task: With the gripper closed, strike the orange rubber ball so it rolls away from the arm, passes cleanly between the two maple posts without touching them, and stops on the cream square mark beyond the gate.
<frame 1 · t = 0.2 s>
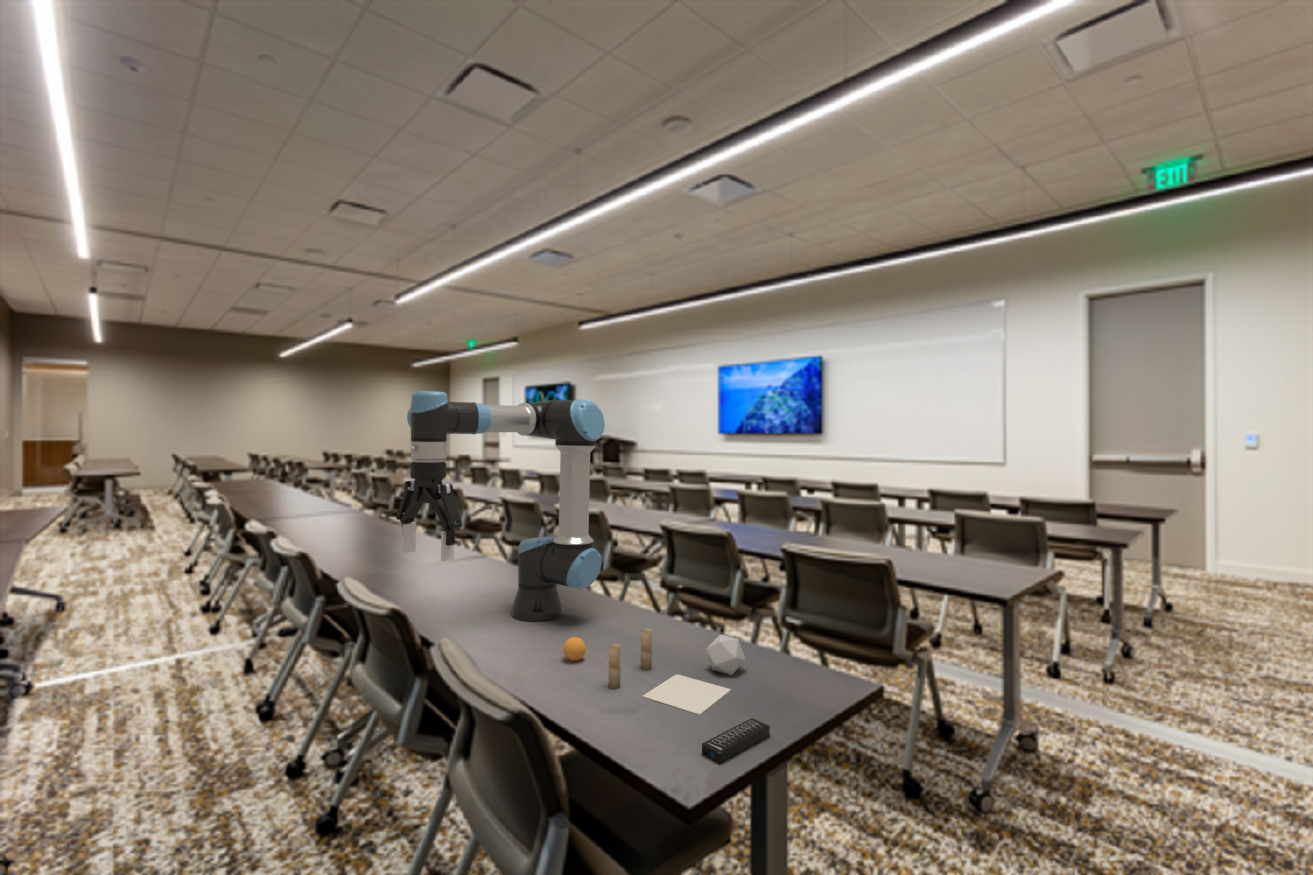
hand: (427, 555, 135), 28 cm above the table, tool pointing down, fingers open, 13 cm apart
die: (725, 671, 143), on the table
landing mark: (687, 693, 130), on the table
multiport hub: (736, 748, 110), on the table
ball: (574, 648, 148), on the table
left post: (614, 686, 134), on the table
right post: (646, 667, 144), on the table
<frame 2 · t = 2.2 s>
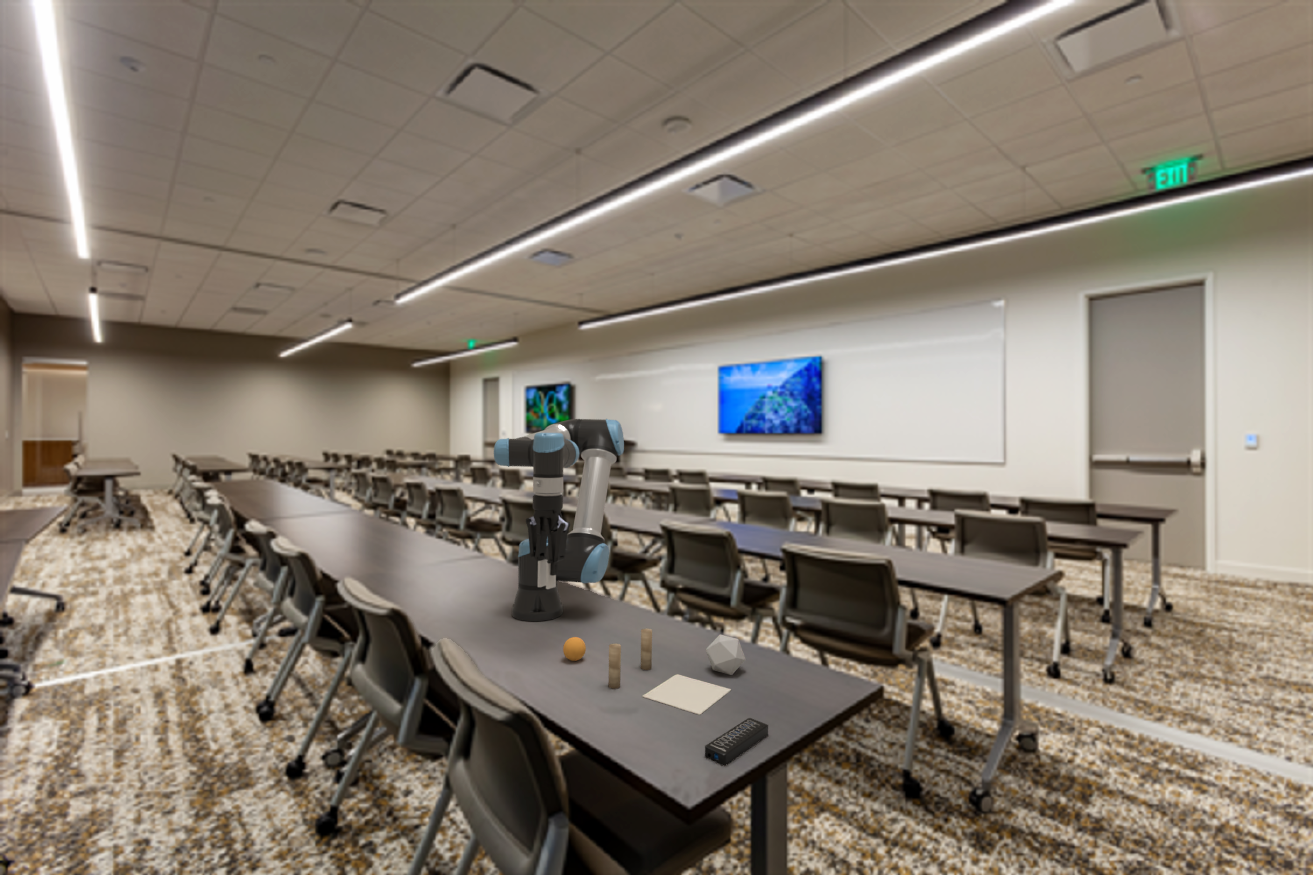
hand: (546, 586, 153), 16 cm above the table, tool pointing down, fingers open, 2 cm apart
nothing on the table moved.
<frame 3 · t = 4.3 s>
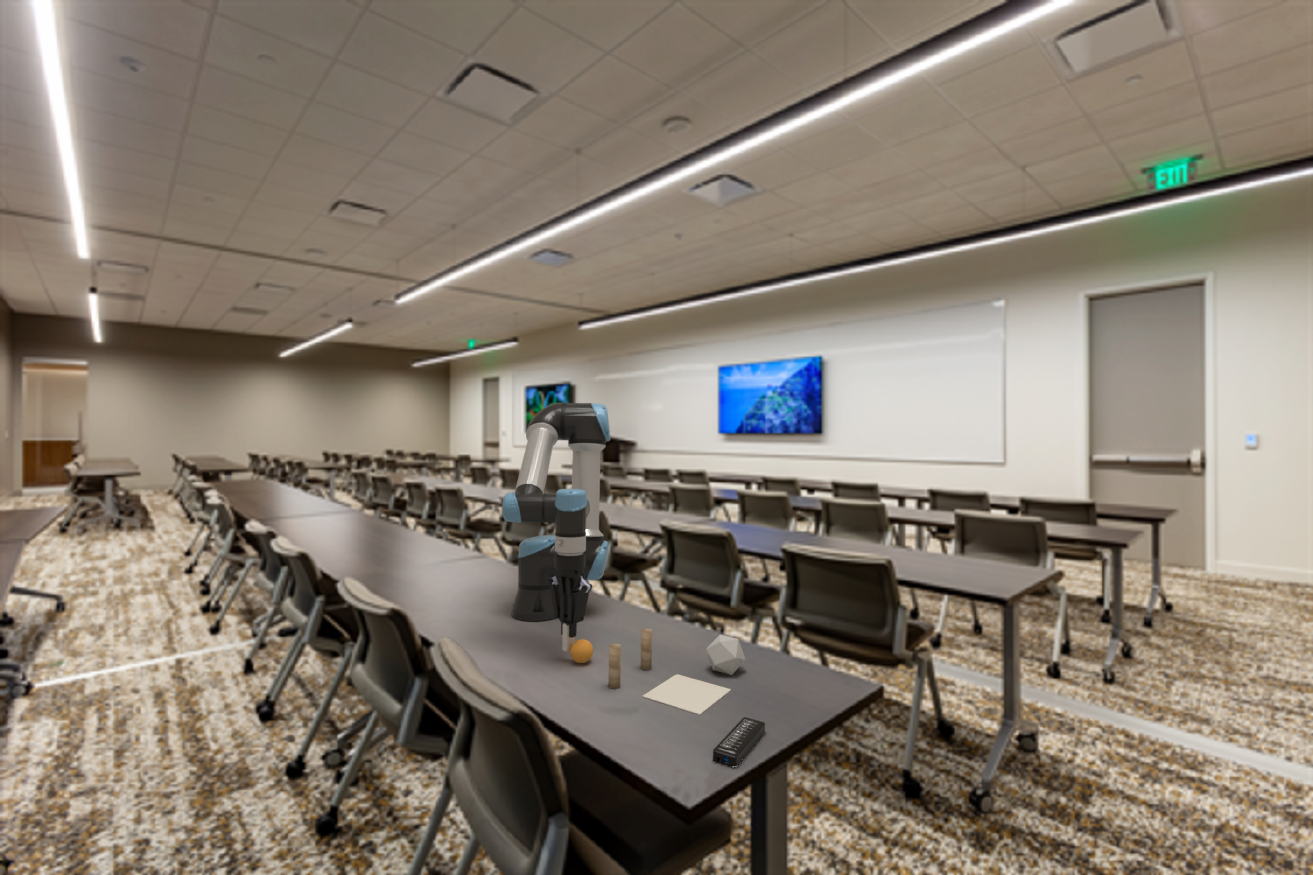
hand: (568, 649, 148), 3 cm above the table, tool pointing down, fingers closed
ball: (581, 651, 147), on the table
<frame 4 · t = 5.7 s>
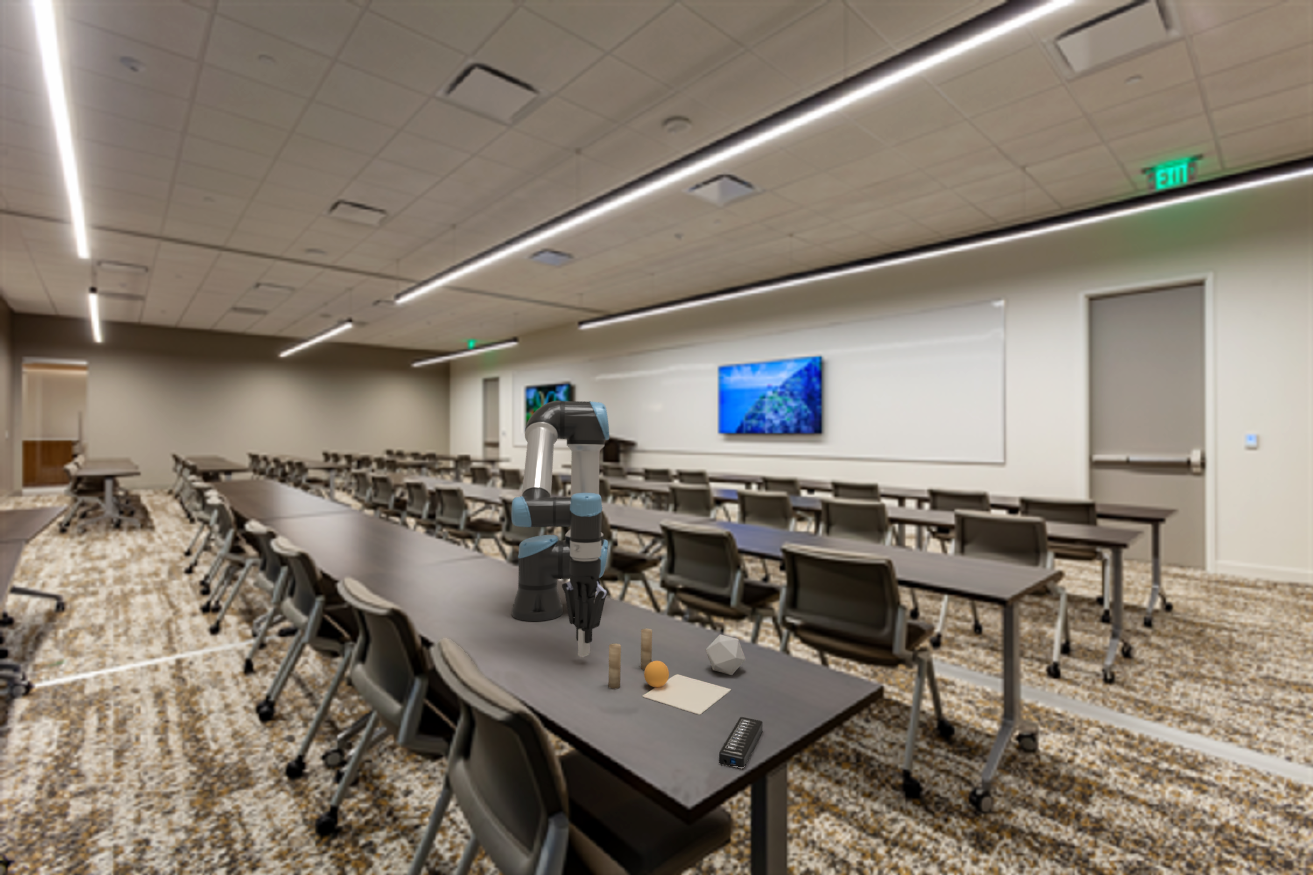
hand: (583, 654, 146), 2 cm above the table, tool pointing down, fingers closed
ball: (656, 673, 134), on the table
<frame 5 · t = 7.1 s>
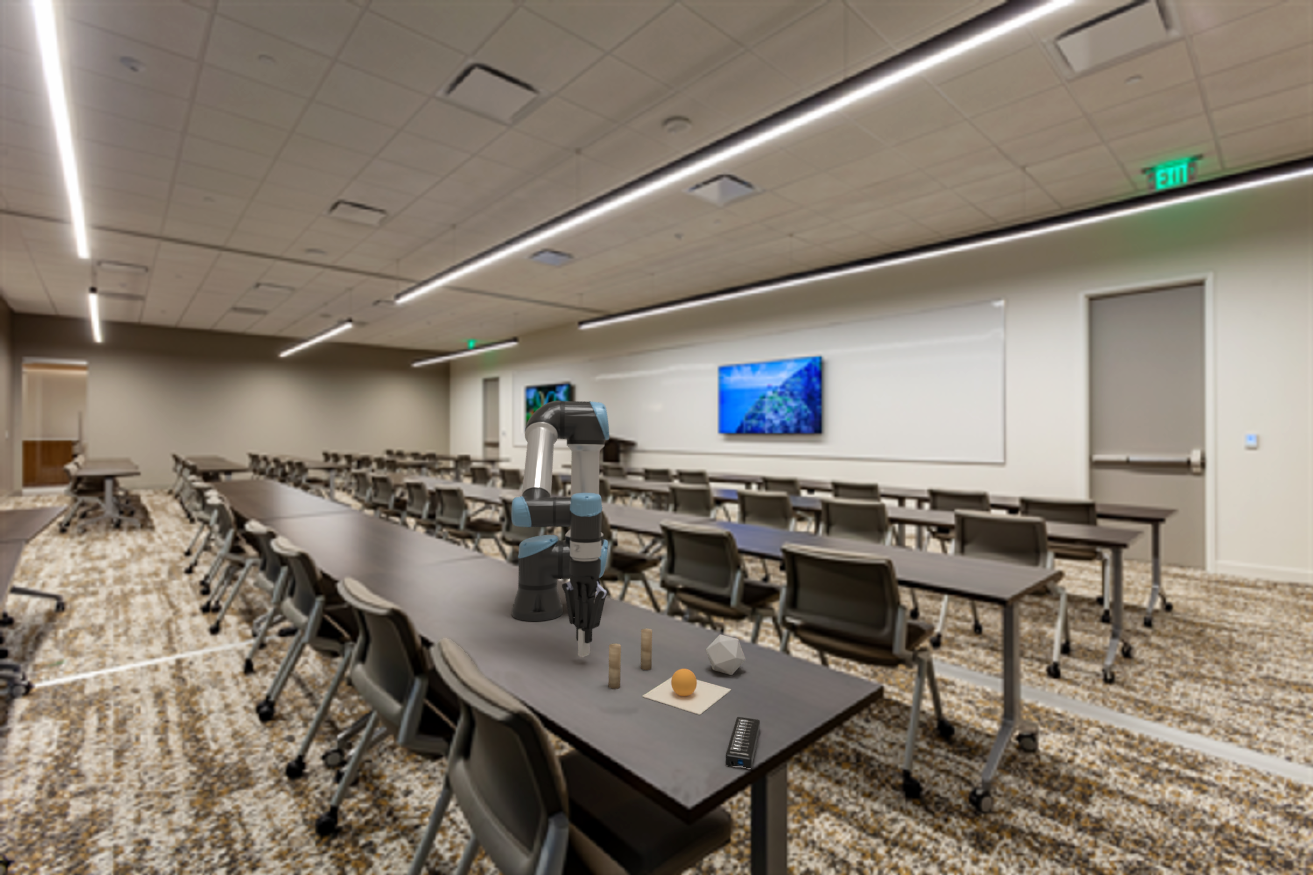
hand: (583, 654, 146), 2 cm above the table, tool pointing down, fingers closed
ball: (684, 682, 130), on the table
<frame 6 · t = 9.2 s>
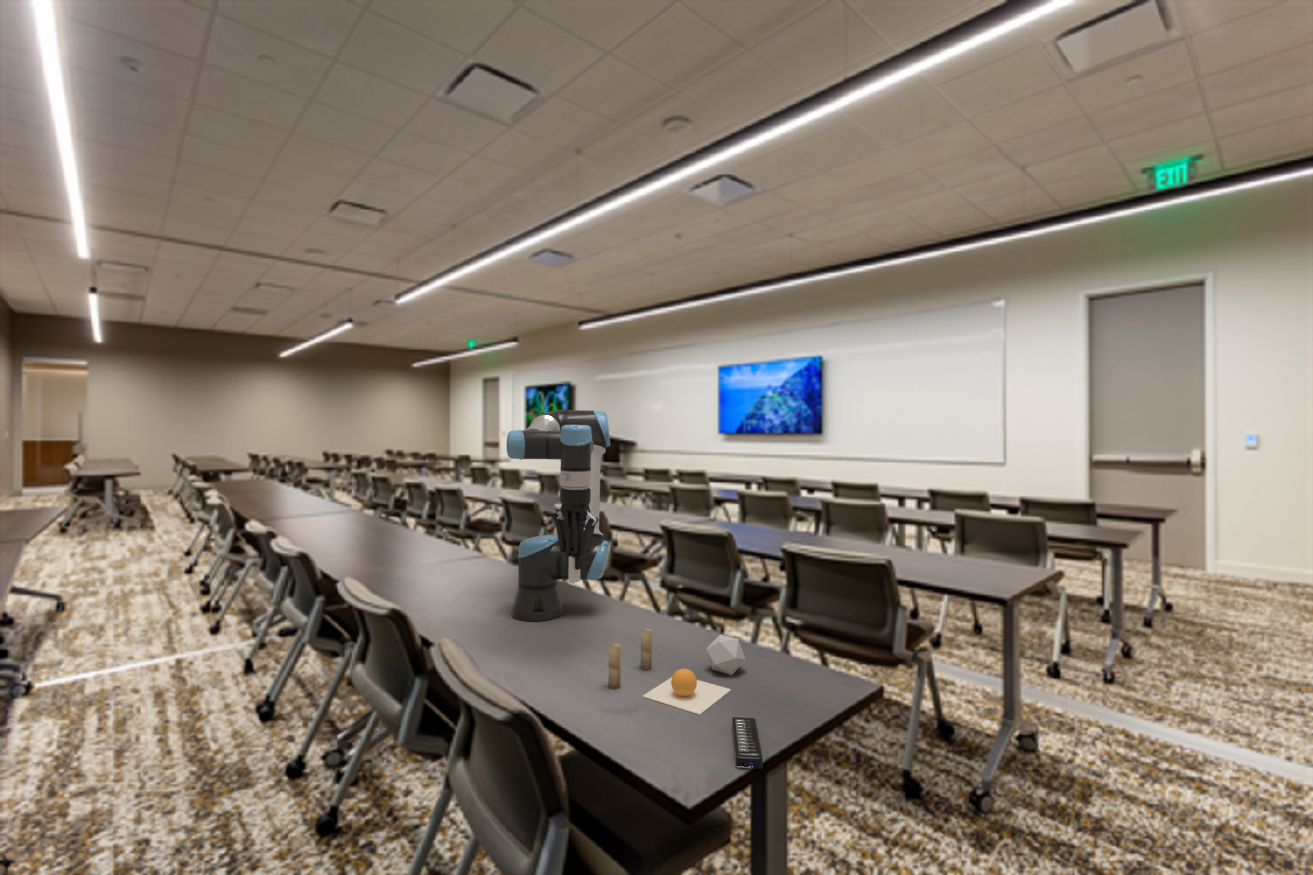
hand: (574, 581, 151), 18 cm above the table, tool pointing down, fingers closed
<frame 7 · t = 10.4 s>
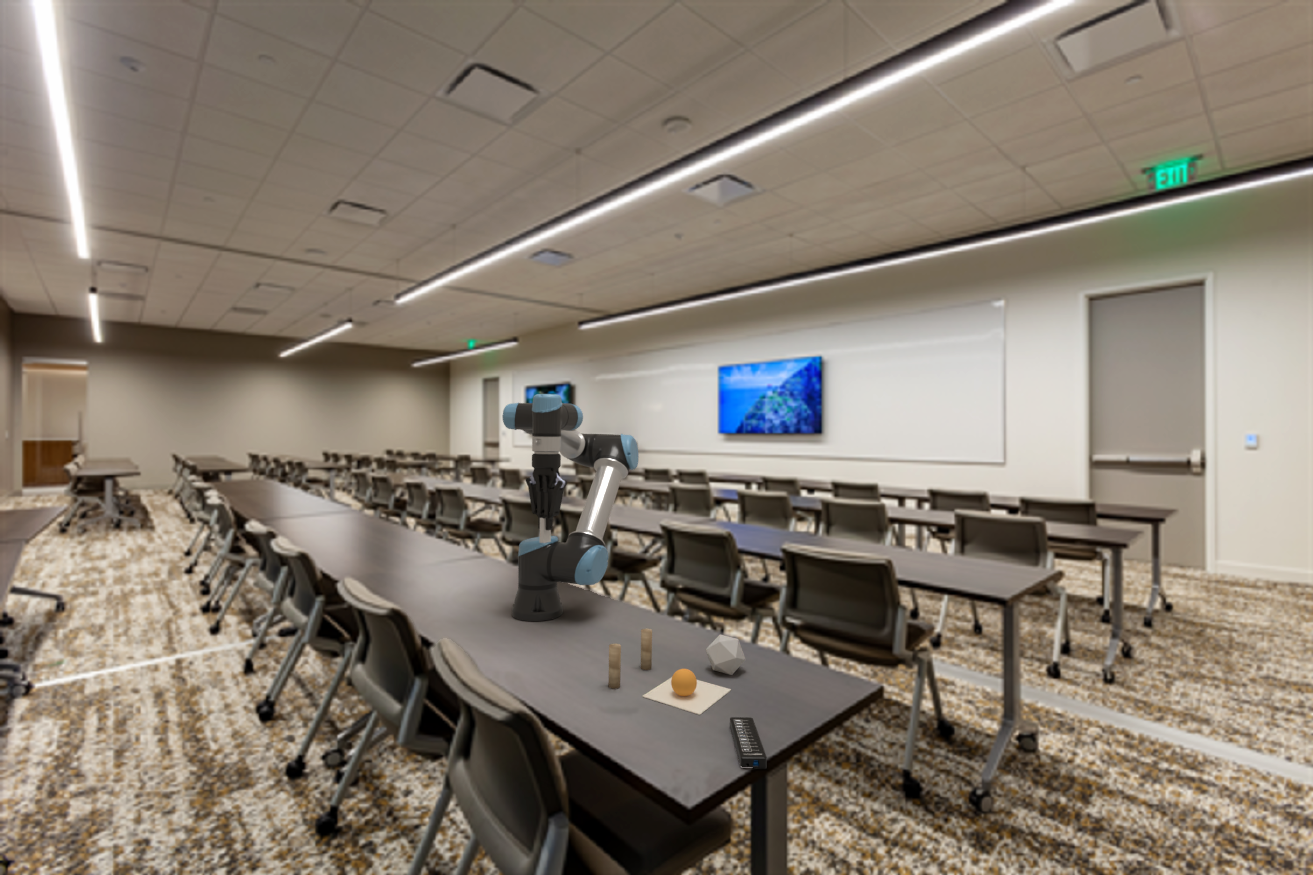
hand: (545, 541, 160), 26 cm above the table, tool pointing down, fingers closed
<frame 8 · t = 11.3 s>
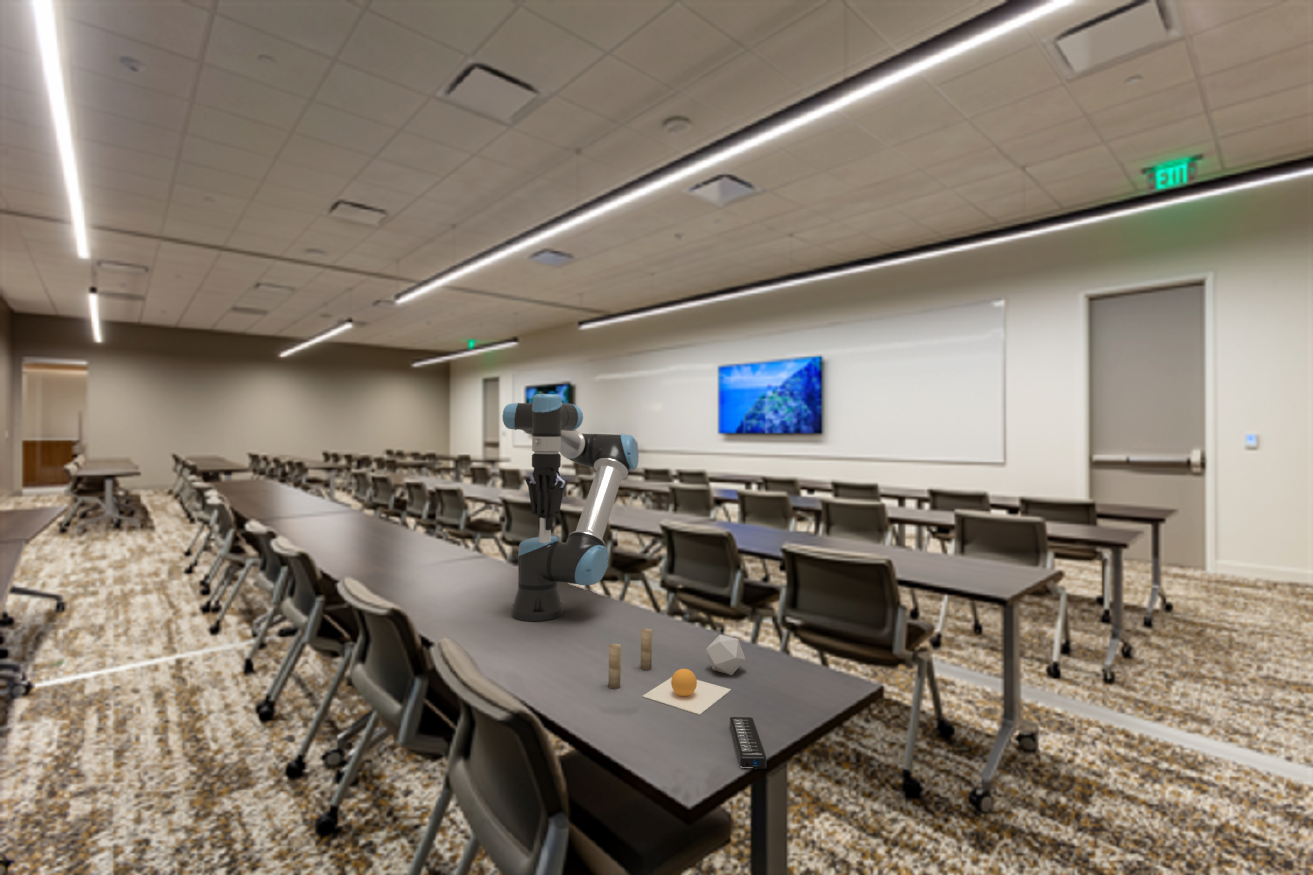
hand: (545, 541, 160), 26 cm above the table, tool pointing down, fingers closed
at the end: ball 1.1 cm from the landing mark (horizontally); ball never touched left post; ball never touched right post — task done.
